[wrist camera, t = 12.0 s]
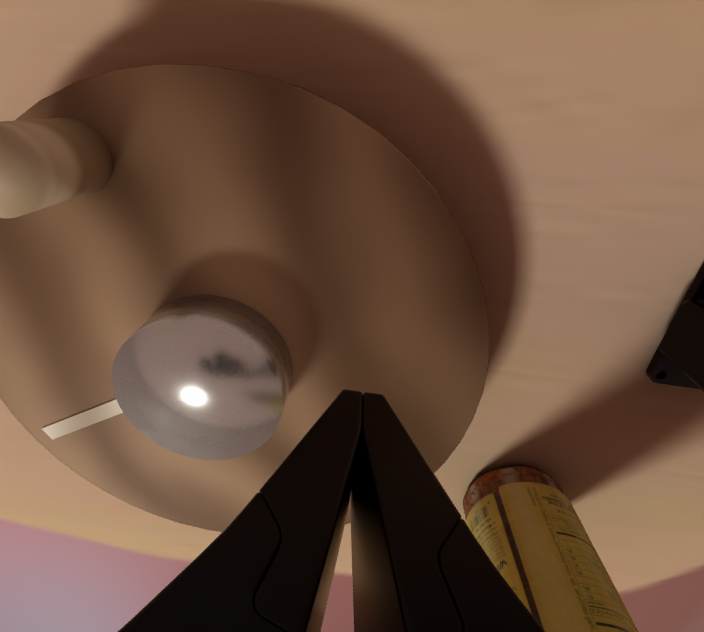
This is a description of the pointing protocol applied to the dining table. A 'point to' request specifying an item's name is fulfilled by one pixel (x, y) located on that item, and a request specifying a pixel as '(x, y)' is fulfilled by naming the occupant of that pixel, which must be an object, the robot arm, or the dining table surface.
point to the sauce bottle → (543, 551)
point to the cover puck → (204, 377)
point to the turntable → (224, 269)
